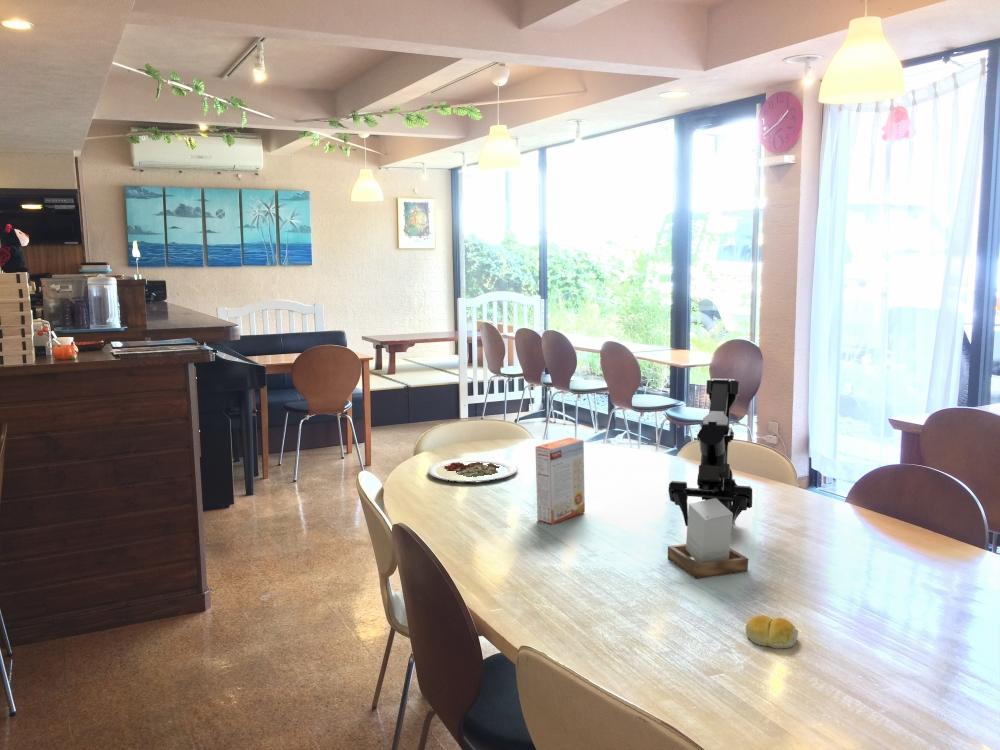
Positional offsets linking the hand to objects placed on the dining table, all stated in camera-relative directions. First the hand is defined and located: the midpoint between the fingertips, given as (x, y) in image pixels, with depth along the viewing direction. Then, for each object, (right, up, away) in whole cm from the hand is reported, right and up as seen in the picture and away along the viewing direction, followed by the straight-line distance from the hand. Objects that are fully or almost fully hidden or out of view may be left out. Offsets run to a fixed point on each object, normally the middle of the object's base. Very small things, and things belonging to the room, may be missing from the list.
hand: (707, 527), depth 182 cm
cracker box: (-31, -5, +38) cm, 49 cm away
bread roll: (+3, -15, -34) cm, 37 cm away
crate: (0, -9, +2) cm, 9 cm away
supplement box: (0, -7, +2) cm, 7 cm away
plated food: (-56, +1, +86) cm, 102 cm away
